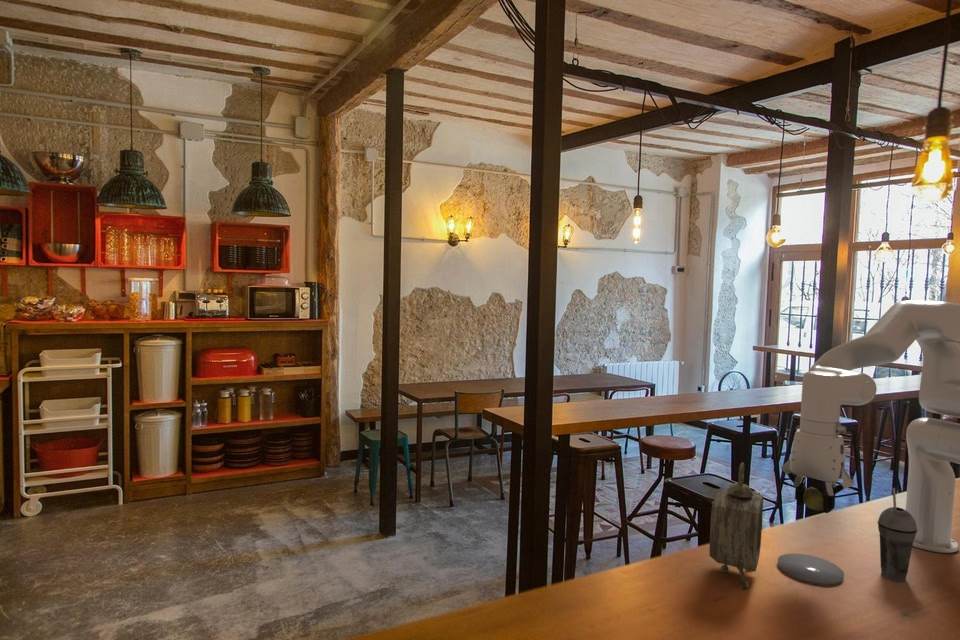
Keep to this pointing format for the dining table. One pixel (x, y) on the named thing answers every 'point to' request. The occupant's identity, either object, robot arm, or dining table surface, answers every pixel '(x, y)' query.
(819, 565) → the slate plate
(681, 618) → the dining table surface
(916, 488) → the robot arm
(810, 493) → the lime
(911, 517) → the beverage cup
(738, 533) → the tabletop clock
